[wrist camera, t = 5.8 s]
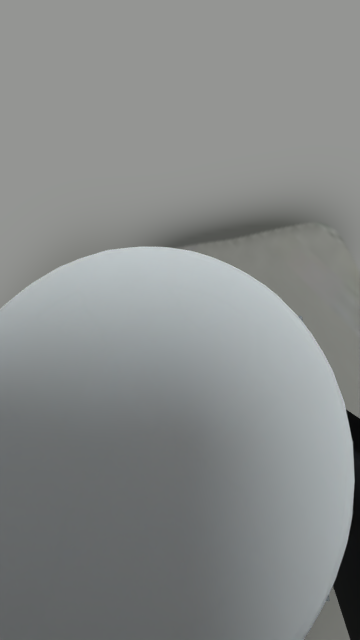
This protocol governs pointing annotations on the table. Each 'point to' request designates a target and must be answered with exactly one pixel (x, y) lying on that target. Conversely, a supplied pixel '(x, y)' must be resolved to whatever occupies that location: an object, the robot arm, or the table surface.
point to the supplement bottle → (166, 455)
